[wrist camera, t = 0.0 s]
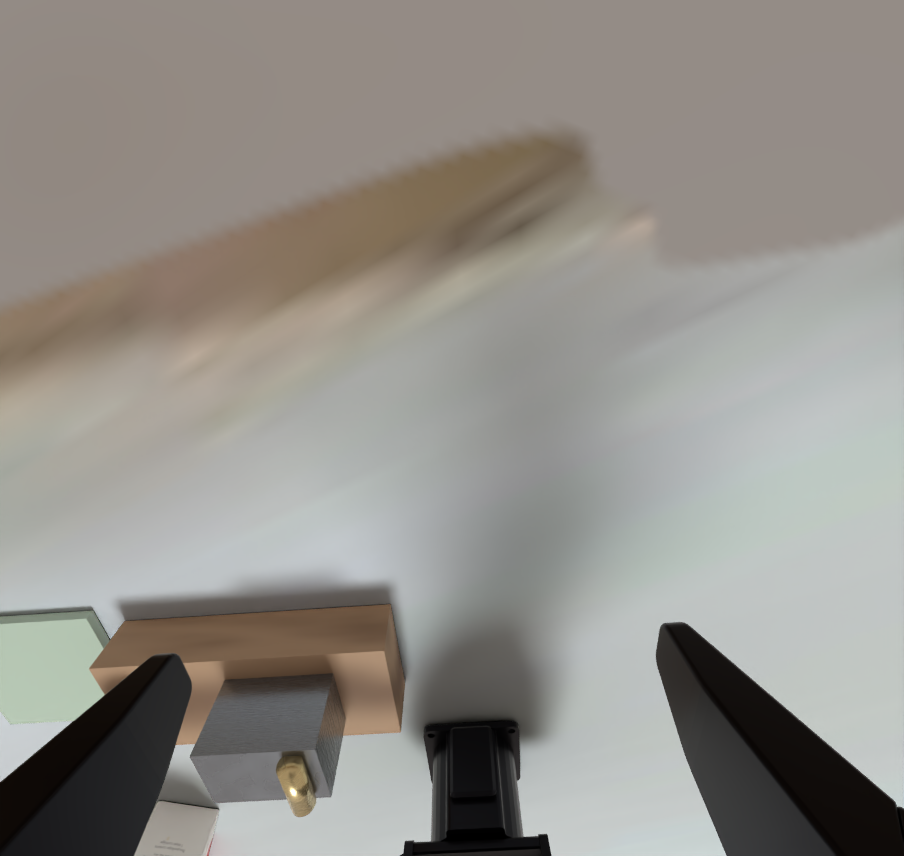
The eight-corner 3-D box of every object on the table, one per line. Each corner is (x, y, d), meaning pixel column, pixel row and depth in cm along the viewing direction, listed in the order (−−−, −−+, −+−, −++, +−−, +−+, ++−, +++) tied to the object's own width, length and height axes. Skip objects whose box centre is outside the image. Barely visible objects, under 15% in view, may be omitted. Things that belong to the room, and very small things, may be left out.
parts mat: (147, 707, 32) (142, 716, 32) (17, 715, 33) (10, 724, 32) (93, 610, 28) (86, 618, 28) (-55, 620, 29) (-65, 628, 28)
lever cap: (346, 719, 28) (326, 820, 24) (244, 725, 28) (205, 826, 24) (333, 673, 26) (309, 772, 22) (224, 679, 26) (179, 779, 22)
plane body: (405, 682, 32) (395, 788, 26) (164, 697, 32) (104, 803, 26) (390, 604, 28) (376, 705, 23) (124, 621, 29) (47, 724, 23)
